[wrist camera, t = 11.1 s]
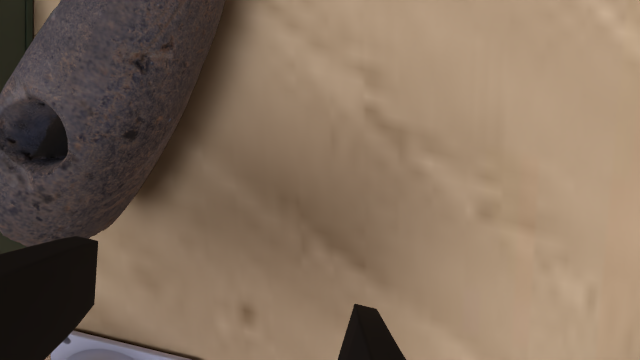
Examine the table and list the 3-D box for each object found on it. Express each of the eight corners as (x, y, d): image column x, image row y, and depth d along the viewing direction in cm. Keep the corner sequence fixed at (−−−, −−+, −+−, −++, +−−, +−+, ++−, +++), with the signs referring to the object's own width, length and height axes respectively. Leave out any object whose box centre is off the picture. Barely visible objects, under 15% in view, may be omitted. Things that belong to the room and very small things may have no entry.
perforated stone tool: (195, -106, 16) (88, -237, 9) (293, -28, 16) (258, -99, 10) (57, 161, 20) (-89, 204, 13) (140, 216, 20) (41, 284, 14)
